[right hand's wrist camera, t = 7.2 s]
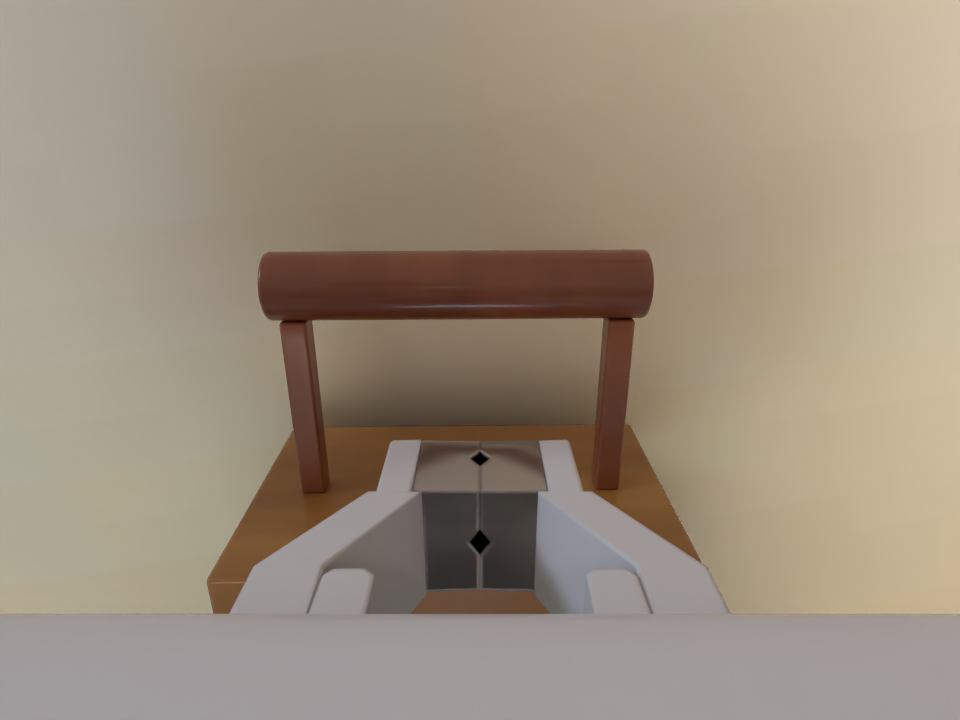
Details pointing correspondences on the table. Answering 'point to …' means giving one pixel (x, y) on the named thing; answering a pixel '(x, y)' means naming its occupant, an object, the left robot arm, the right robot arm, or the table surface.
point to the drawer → (362, 450)
